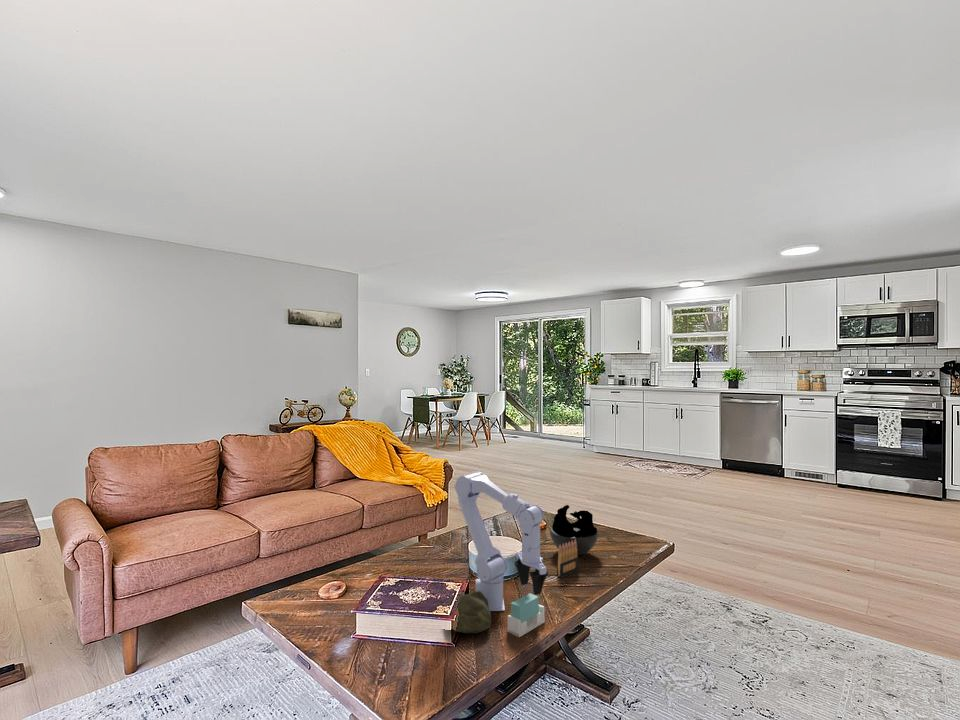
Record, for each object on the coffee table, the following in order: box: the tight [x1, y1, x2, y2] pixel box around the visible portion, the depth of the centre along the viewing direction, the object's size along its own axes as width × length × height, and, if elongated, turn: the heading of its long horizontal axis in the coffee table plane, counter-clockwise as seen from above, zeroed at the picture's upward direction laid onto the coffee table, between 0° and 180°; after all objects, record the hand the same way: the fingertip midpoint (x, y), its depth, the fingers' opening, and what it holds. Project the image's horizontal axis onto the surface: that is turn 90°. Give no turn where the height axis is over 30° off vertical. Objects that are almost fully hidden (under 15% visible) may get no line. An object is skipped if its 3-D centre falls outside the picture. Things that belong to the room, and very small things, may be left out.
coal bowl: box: [549, 504, 599, 557], centre depth 217 cm, size 20×20×19 cm
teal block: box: [510, 593, 540, 623], centre depth 158 cm, size 9×4×5 cm, turn 136°
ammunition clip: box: [556, 539, 579, 578], centre depth 198 cm, size 11×2×12 cm, turn 130°
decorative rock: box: [455, 591, 492, 634], centre depth 159 cm, size 15×16×10 cm
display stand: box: [506, 604, 546, 638], centre depth 159 cm, size 12×5×5 cm, turn 136°
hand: (530, 588), depth 163 cm, fingers open, 7 cm apart
